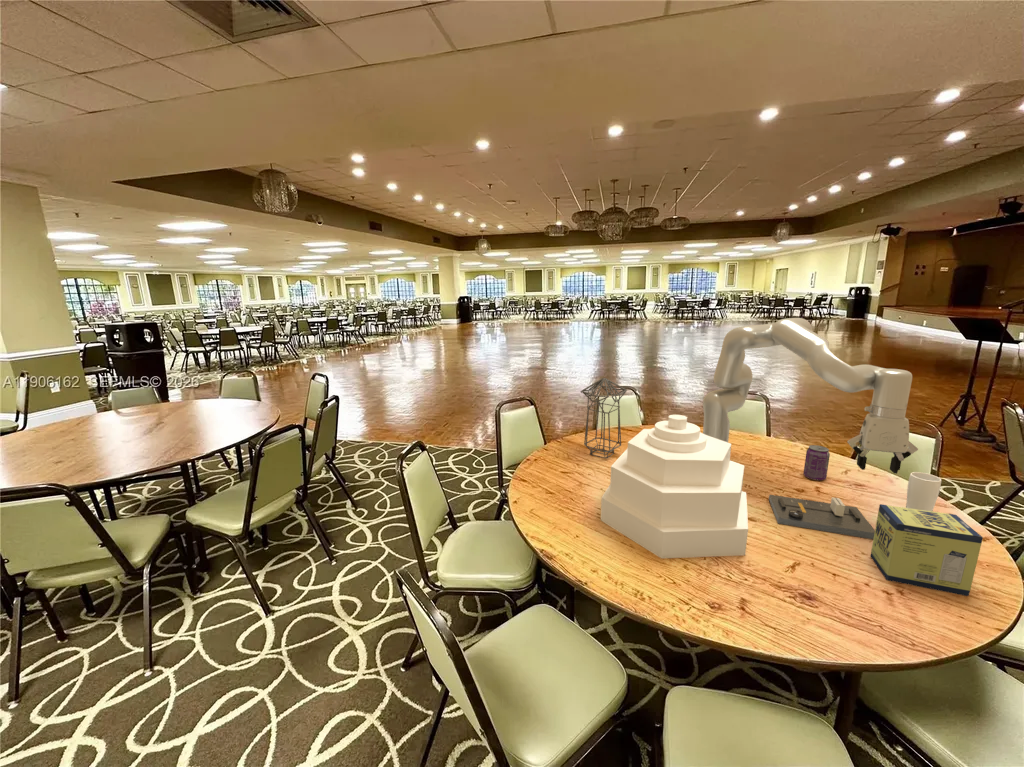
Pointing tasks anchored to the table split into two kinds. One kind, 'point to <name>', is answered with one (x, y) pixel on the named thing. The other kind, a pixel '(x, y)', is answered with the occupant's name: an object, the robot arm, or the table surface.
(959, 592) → the protein box
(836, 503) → the fader
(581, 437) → the table surface
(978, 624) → the table surface
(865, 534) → the console
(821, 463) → the beverage can
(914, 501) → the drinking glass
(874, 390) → the robot arm
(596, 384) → the geometric lantern
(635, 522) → the tiered cake
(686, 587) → the table surface
